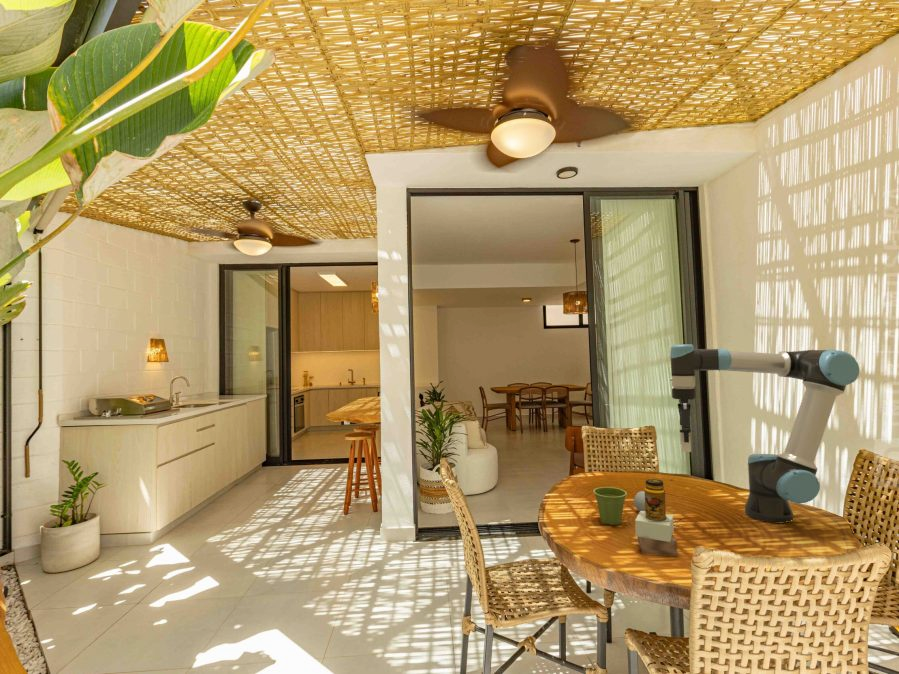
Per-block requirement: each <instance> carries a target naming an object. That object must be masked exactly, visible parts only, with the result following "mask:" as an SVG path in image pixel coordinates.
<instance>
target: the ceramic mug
mask: <svg viewBox="0 0 899 674" xmlns="http://www.w3.org/2000/svg"><path fill="white" fill-rule="evenodd" d="M633 504H634V507H635V509H636V510H638V511H639V512H640V511H645V490H641V491H640V490H639V491H638V492H637V493H636V495H635V496H634V500H633Z"/></svg>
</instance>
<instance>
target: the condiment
mask: <svg viewBox="0 0 899 674" xmlns="http://www.w3.org/2000/svg"><path fill="white" fill-rule="evenodd" d="M644 492H645V512H640V511H639V512H638V514H639V513H640V514H641V515H642V516H643V517H644V518H645V519H646V520H647V521H650V522H651V521H653V522H654V521H655V522H663V521H672V520H670V519H669V518H668V517H666V515H667V512H666V491H665V489H664V482H663V480H662V479H658V478H648V479H646V480H645V488H644Z"/></svg>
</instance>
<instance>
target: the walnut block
mask: <svg viewBox="0 0 899 674" xmlns="http://www.w3.org/2000/svg"><path fill="white" fill-rule="evenodd" d="M636 538H637V544H638V545H639V548H640V550H641V552H642V554H643V555H652V556H653V555H655V556H668V557H669V556H670V557H678V545H677V544H678V542H677V541H678V540H677V539H676V537H675V535H674V534H673V535H672V538H671V541H670V542H667V541H661V540H655V539H649V538H644V537H638V536H636Z"/></svg>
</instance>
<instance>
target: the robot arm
mask: <svg viewBox="0 0 899 674" xmlns="http://www.w3.org/2000/svg"><path fill="white" fill-rule="evenodd" d="M669 352H670V354H669V355H670V357H669V358H670V373H671V377H669V381H670V382H671V387H673V388H671V397H672V399H673V400H678V402H679V403H677V408H678V414H679V425H680V426H679V435H680V436H679V437H680V444H681V450H682V452H684V453H685V452H687V453H692V440H691V439H692V437H691V431H692V430H691V421H690V419H691V418H690V417H691V407H692V406H691V404H690V403H689V400H695V399H696V389H695V387H696V374H695V373H696V372H695V371H697V372H699V371H719V372H720V371H724V372H727V371H728V372H740V373H741V372H742V373H743V372H745V373H758V374H759V373H760V374H773V375H774V374H775V375H777V376H779V377H783V378H792V379H797V380H801V381H802V384H803V386H804V387H805V390H804V394H803V397H802V399H801V402H800V405H799V408H798V411H797V414H796V417H795V420H794V423H793V425H792V429H791V432H790V435H789V438H788V440H787V443H786V445H785V449H784V452H782V453H780V454H773V453H755V454H754V453H753V454H749V455H748V458H747V467H748V468H747V470H748V471H747V472H748V485H749V492H748V493H749V494H748V496H747V499H746V503H745V505H744V514H745V515H746V516H747V517H749V518H752V519H754V520H758V521H761V522H766V523H772V522H786V521H791V520H793V519H794V513H793V512H794V511H793V509H792V507H791V505H790V502H791V503H794V504H806V503H808V502H811V501H813V500H815V498H816V497H817V496H818V495H819V492H820V489H821V484H820V482H819V479H818V477H817V476H816V475H817V472H818V467H817V466H816V464H815V460H816V457H817V455H818V452H819V448H820V445H821V442H822V440H823V437H824V434H825V431H826V428H827V425H828V422H829V419H830V416H831V413H832V410H833V407H834V404H835V401H836V399H837V397H838V396H840V395H842V394H844V393H845V389H846V387H847V386H848V385H850V384H852V383H855V381H857V379H858V378H859V375H860V366H859V362H858V361H857V360H856V358H855V357H854V356H853V355H852V354H850V353H849V352H847V351H844V350H836V349H807V350H806V349H805V350H798V351H796V350H794V351H785V350H784V351H782V350H781V351H779V352H778V353H770V352H769V353H768V352H755V351H754V352H750V351H737V350H736V351H734V350H733V351H732V350H728V349H727V348H711V349H710V348H708V349H707V348H706V349H705V348H704V349H703V348H700V349H699V348H695V346H694V344H690V343H688V344H673V345H671V347H670V351H669ZM793 521H794V520H793Z"/></svg>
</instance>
